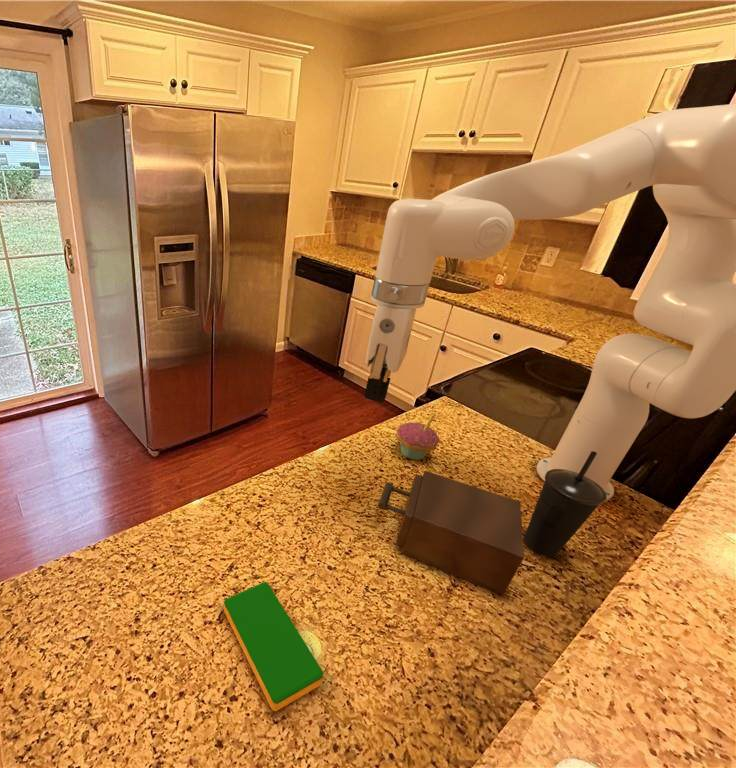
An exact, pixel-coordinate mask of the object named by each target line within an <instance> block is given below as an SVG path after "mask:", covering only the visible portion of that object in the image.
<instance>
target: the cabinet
mask: <svg viewBox="0 0 736 768" xmlns="http://www.w3.org/2000/svg"><path fill="white" fill-rule="evenodd" d="M422 476H423V478H422V482H421V487H420V491H419V495H418V499H417V503H416V508H415V512H414V516H413V520H412V522H411V525H410V528H409V531H408V534H407V537H406V540H405V543H404V546H403V547H402V549H401V554H402V555H405V556H407V557H409V558H412V559H415V560H416V561H419V562H421V563H423V564H427V565H429V566H431V567H433V568H436V569H438V570H441V571H443V572H445V573H448V574H450V575H453V576H455V577H457V578H460V579H462V580H464V581H467V582H469V583H472V584H474V585H476V586H479V587H481V588H484V589H486V590H488V591H491V592H492V593H496V594H498V595H500V596H504V594H505V593H506V591H507V589H508V587H509V586H510V584H511V582H512V580H513V579H514V577H515V575H516V573H517V571H518V570H519V568H520V566H521V564H522V562H523V560H524V559H525V549H524V534H523V533H524V532H523V523H522V521H523V520H522V506H521V505H522V504H521V501H519V500H517V499H513V498H510V497H507V496H504V495H502V494H498V493H495V492H491V491H489V490H487V489H483V488H479V487H477V486H474V485H471V484H468V483H465V482H461V481H458V480H455V479H453V478H450V477H446V476H443V475H440V474H437V473H434V472H430V471H428V470H424V471H423V475H422Z"/></svg>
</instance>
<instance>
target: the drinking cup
mask: <svg viewBox="0 0 736 768" xmlns="http://www.w3.org/2000/svg"><path fill="white" fill-rule="evenodd" d="M596 455H597V453H596V452H594V451H591V453H590V455H589V457H588V458H587V460H586V462H585V463H584V465H583V467H582V469H581V470H580V472H579V473H576V472H573V471H569V470H564V469H552V470H549V471H548V472H547V473H546V474H545V481H543V482H544V483H543V484H542V487H541V490H540V494H539V496H538V499H537V502H536V504H535V507H534V510H533V512H532V514H531V516H530V517H531V518H530V520H529V522H528V524H527V525H528V526H527V528H526V530H525V533H524V535H523V542H524V543H525V545H526V546H527V548H529V549H530V550H531V551H533V552H534V553H535V554H537V555H540V556H543V557H545V558H548V557H549V558H554V557H556V556H557V555H558V554H559V553H560V552H561V550H562V549H563V548H564V547H565V546H566V545H567V543H568V542H569V541H570V540H571V539H572V538H573V536H574V535H575V534H576V533H577V531H578V530H579V529H581V527H582V526H583V525H584V524H585V522H586V521H587V520H588V519H589V517H590V516H591V515H593V513H594V512H595V510H597V509H598V507H599V506H601V505H602V504H604V503H605V501H606V499H607V496H606V493H605V491H604V490H603V489H602V487H600V486H599V485H598V484H597V483H596V482H594V481H593V480H591V479H589V478H587V477H585V476H584V475H585V474H586V472H587V470H588V468H589V467H590V465H591V463H592V462H593V460H594V458H595V456H596ZM606 502H607V501H606Z"/></svg>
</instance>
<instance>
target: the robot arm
mask: <svg viewBox="0 0 736 768" xmlns="http://www.w3.org/2000/svg"><path fill="white" fill-rule="evenodd" d="M649 187H652V193H653V197H654V200H655V201H656V203H657V204H658V206H659V207H660V208H661V210H662V212H663V213H664V215H665V217H666V221H667V224H668V238H667V241H666V245H665V247H664V249H663V251H662V254H661V255H660V257H659V259H658V262H657V263H656V265H655V267H654V269H653V271H652V273H651V274H650V276H649V278H648V280H647V282H646V283H645V286H644V287H643V289H642V291H641V292H640V295H639V297H638V299H637V302H636V304H635V306H634V309H633V318H634V320H635V321H636V322H637V323H638V324H640V325H641V326H643V327H644V328H647V329H649V330H652V331H653V332H656V333H659V334H661V335H664V336H667V337H669V338H672V339H674V340H678V341H680V342H683V343H686V344H688V345H691V346H692V350H691V351H690V350H687V349H685V348H683V347H681V346H679V345H675V344H673V343H670V342H667V341H665V340H662V339H660V338H656V337H654V336H650V335H646V334H643V333H642V334H641V333H624V334H623V333H622V334H619V335H615V336H614V337H612V338H610V339H608V340H607V341H606V342H605V343H603V344H602V345H601V346H600V348H599V349H598V351H597V353H596V355H595V357H594V360H593V364H592V368H591V373H590V377H589V381H588V384H587V386H586V389H585V391H584V394H583V396H582V398H581V399H580V401H579V403H578V406H577V408H576V409H575V410H574V413H573V415H572V417H571V419H570V421H569V422H568V425H567V427H566V428H565V430H564V432H563V434H562V435H561V438H560V440H559V442H558V444H557V446H556V448H555V450H554V451H553V454H552V455H551V457H544V458H542V459H540V460H539V461H538V463H537V465H536V473H537V475H538V476H539V477H540V478H541V480H542V481H543V482H545V474H546V473H547V472H548V471H549V470H552V469H564V470H569V471H573V472H576V473H579V472H580V470H581V469H582V467H583V465H584V463H585V462H586V460H587V458H588V457H589V455H590V453H591V451H594V452H596V453H597V455H596V456H595V458H594V460H593V462H592V463H591V465H590V467H589V468H588V470H587V472H586V474H585V475H584V476H585V477H587V478H589V479H591V480H593V481H594V482H596V483H597V484H598V485H599V486H600V487H602V489H603V490H604V491H605V493H606V496H607V499H606V501H605V502H608V501H610V500H611V499H612V498H613V496H614V494H615V489H614V486H613V485H612V483H611V482H610V480H612V478H613V476H614V474H615V472H616V471H617V469H618V468H619V466H620V464H621V463H622V461H623V460H624V458H625V457H626V455H627V453H628V452H629V450H630V449H631V447H632V445H633V444H634V442H635V441H636V439H637V438H638V436H639V434H640V433H641V431H642V430H643V428H644V427H645V425H646V423H647V421H648V419H649V415H650V404H651V405H653V406H655V407H656V408H657V409H660V410H662V411H664V412H665V413H669V414H670V415H672V416H676V417H679V418H682V419H698V418H703V417H706V416H709V415H710V414H712V413H714V412H715V411H717V410H718V409H719V408H721V407H723V405H724V404H726V403H727V401H728V400H729V399H730V398H731V397H732V396H733V394H734V393H735V392H736V283H734V281H733V279H734V277H735V273H736V103H731V104H730V103H729V104H720V105H711V106H709V105H708V106H698V107H687V108H686V107H685V108H676V109H670V110H666V111H661V112H658V113H654V114H652V115H649V116H647V117H644V118H642V119H639V120H637V121H635V122H631V123H629V124H627V125H625V126H623V127H620V128H617V129H616V130H614V131H611V132H608V133H607V134H604V135H602V136H599V137H597V138H595V139H592V140H590V141H588V142H585V143H583V144H581V145H578V146H576V147H574V148H571V149H568V150H566V151H563V152H561V153H558V154H555V155H550V156H547V157H543V158H539V159H535V160H533V161H529V162H527V163H524V164H520V165H517V166H513V167H510V168H506V169H503V170H500V171H499V170H498V171H496V172H493V173H490V174H489V173H488V174H487V175H483V176H481V177H477V178H475V179H472V180H470V181H468V182H465V183H463V184H461V185H458V186H456V187H454V188H451V189H449V190H446V191H444V192H443V193H440V194H438V195H437V196H435V197H433V198H432V199H423V198H401V199H398V200H395V201H394V202H393V203H391V205H390V206H389V207H388V210H387V214H386V218H385V224H384V229H383V233H382V239H381V245H380V248H379V254H378V260H377V265H376V269H375V274H374V280H373V285H372V290H371V294H370V295H371V296H370V300H371V301H372V302H374V303H376V307H375V312H374V315H373V319H372V325H371V328H370V334H369V339H368V344H367V348H366V355H365V361H364V362H365V365H366V367H370V370H369V375H368V377H367V381H366V382H367V383H366V387H365V391H364V395H363V396H364V399H367V400H371V401H374V402H377V403H384V402H385V401H386V398H387V394H388V390H389V386H390V382H391V377H390V376H391V373H393V374H395V373H397V372H398V371H399V370H400V369H401V366H402V364H403V362H404V360H405V358H406V356H407V352H408V347H409V343H410V339H411V334H412V330H413V326H414V323H415V322H414V321H415V316H416V311H417V309H420V308H423V307H424V306H425V303H426V301H427V300H426V299H427V296H428V293H429V288H430V285H431V280H432V277H433V273H434V269H435V265H436V262H437V259H438V258H440V257H442V258H449V259H456V260H462V261H472V262H473V261H482V260H486V259H489V258H491V257H493V256H495V255H498V253H500V252H501V251H503V250H504V249H505V248H506V247H507V245H509V243H510V242H511V240H512V238H513V235H514V232H515V221H530V220H532V221H534V220H536V221H537V220H539V221H540V220H554V219H563V218H569V217H570V218H571V217H575V216H579V215H582V214H584V213H587V212H589V211H591V210H594V209H596V208H599V207H601V206H603V205H605V204H608V203H611V202H613V201H615V200H618V199H620V198H623V197H625V196H628V195H630V194H633V193H635V192H638V191H641V190H643V189H645V188H649ZM605 502H604V503H605Z"/></svg>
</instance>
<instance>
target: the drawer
mask: <svg viewBox="0 0 736 768" xmlns="http://www.w3.org/2000/svg"><path fill="white" fill-rule="evenodd" d="M422 478H423V475H421V474H417V473H415V475H414V479H413V482H412V484H411V487H410V491H406V490H404V489H400V488H398V487H395V486H394V485H393V483H391V482H386V483H385V484H384V487H383V489H382V493H381V496H380V499H379V501H378V503H377V507H378V509H379V510H381V511H385V510H388V511H390V512H393V513H396V514H399V515H402V518H401V523H400V526H399V530H398V533H397V537H396V540H395V545H397V546H400V547H402V548H403V546H404V543H405V540H406V537H407V534H408V531H409V528H410V525H411V522H412V520H413V516H414V512H415V508H416V503H417V499H418V495H419V491H420V487H421V482H422ZM392 492H393V493H396V494H399V495H402V496H405V497H407V500H406V504H405V508H404V509H402V508H399V507H397V506H394V505H391V504H389V502H390V499H391V495H392Z"/></svg>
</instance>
